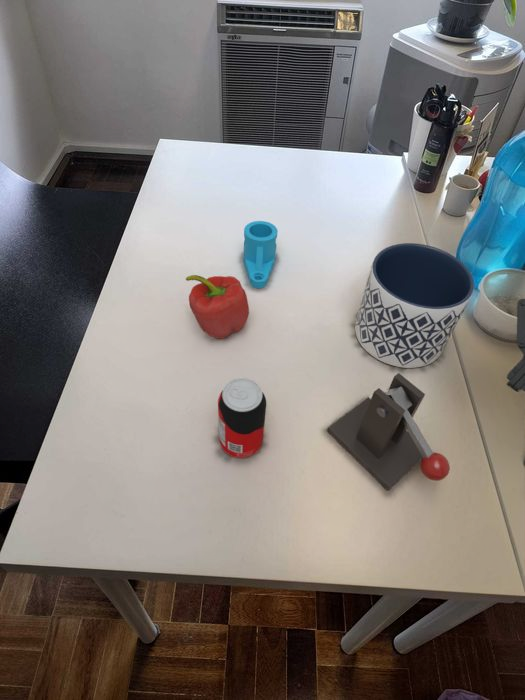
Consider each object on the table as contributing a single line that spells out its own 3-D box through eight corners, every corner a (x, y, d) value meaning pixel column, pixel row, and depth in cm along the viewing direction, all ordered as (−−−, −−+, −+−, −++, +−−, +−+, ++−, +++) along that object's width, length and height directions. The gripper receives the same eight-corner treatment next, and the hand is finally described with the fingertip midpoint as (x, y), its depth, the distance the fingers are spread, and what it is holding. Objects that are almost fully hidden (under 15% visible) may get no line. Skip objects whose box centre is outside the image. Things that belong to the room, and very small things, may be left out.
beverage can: (255, 466, 66) (259, 420, 57) (213, 454, 67) (210, 407, 58) (267, 429, 70) (272, 381, 61) (227, 418, 71) (226, 369, 62)
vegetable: (178, 336, 82) (172, 293, 74) (201, 298, 88) (198, 255, 81) (237, 353, 80) (237, 311, 72) (256, 312, 86) (258, 270, 79)
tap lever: (440, 470, 64) (460, 470, 61) (423, 485, 62) (443, 486, 59) (390, 387, 64) (408, 382, 61) (373, 400, 62) (390, 396, 59)
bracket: (275, 250, 99) (277, 221, 93) (274, 289, 91) (277, 259, 85) (244, 249, 99) (244, 220, 93) (241, 287, 91) (241, 257, 85)
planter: (445, 316, 88) (475, 255, 77) (440, 380, 78) (474, 320, 67) (362, 296, 91) (379, 234, 80) (346, 355, 81) (364, 293, 70)
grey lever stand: (427, 454, 69) (459, 405, 59) (387, 491, 65) (414, 445, 55) (366, 401, 75) (386, 348, 65) (326, 431, 71) (341, 380, 61)
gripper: (567, 233, 53) (462, 350, 57) (691, 298, 47) (562, 426, 51) (566, 254, 60) (471, 359, 64) (674, 314, 53) (562, 426, 57)
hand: (512, 388), depth 57 cm, fingers closed
